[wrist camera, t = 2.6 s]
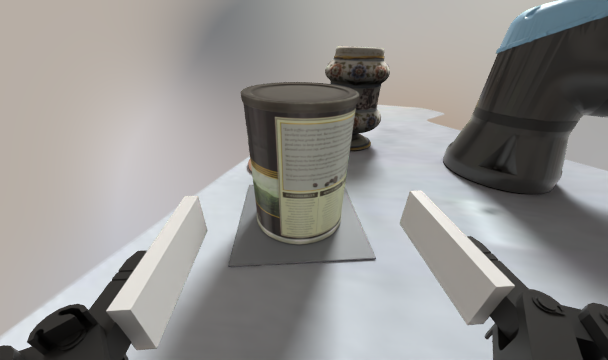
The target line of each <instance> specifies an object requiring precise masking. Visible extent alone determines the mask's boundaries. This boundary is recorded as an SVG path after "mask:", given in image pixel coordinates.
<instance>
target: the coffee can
mask: <svg viewBox="0 0 608 360" xmlns="http://www.w3.org/2000/svg"><path fill="white" fill-rule="evenodd" d="M241 98H242V101H243V103H244V110H245V119H246V126H247V135H248V144H249V151H250V159H251V167H252V176H253V184H254V192H255V200H256V208H257V221H258V224H259V226H260V228H261V229H262V230H263V231H264V232H265V233H266V234H267V235H268V236H270V237H272V238H273V239H276V240H278V241H281V242H284V243H290V244H309V243H314V242H317V241H321V240H323V239H325V238H326V237H328V236H330V235H331V234H332V233H333V232H335V230H336V229H337V228H338V226H339V224H340V222H341V211H342V203H343V196H344V189H345V182H346V175H347V168H348V161H349V153H350V146H351V139H352V131H353V124H354V117H355V109H356V104H357V103H358V100H359V93H358V92H357V91H356V90H354V89H351V88H348V87H344V86H340V85H333V84H323V83H306V82H288V83H287V82H284V83H270V84H261V85H255V86H251V87H247V88H245V89H243V90H242V91H241Z"/></svg>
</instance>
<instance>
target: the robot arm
mask: <svg viewBox="0 0 608 360" xmlns="http://www.w3.org/2000/svg"><path fill="white" fill-rule="evenodd" d="M496 53H497V57H496V60H495V62H494V64H493V67H492V69H491V72H490V74H489V76H488V79H487V81H486V84H485V86H484V88H483V91H482V93H481V95H480V98H479V100H478V102H477V105H476V108H475V110H474V112H473V115H472V117H471V119H470V121H469V122H468V123H467V124H466V126H465V127H464V128H463V130H462V131H461V132H460V134H459V135H458V136H457V138H456V139H455V141H454V142H452V143H451V144H450V145H449V146H448V147H447V149H446V152H445V155H444V157H443V162H444V163H445V165H446V166H447V167H448V168H449V169H451V170H452V171H453V172H455V173H457V174H459V175H460V176H462V177H464V178H467V179H469V180H471V181H474V182H476V183H479V184H482V185H485V186H489V187H492V188H496V189H500V190H504V191H510V192H516V193H525V194H540V193H546V192H549V191H551V190H552V189H553V188H554V186H555V185H556V183H557V182H558V180H559V179H560V178H561V175H562V167H563V163H564V158H565V153H566V148H567V141H568V137H569V135H570V133H571V132H572V130H573V129H574V127H575V126H576V124H577V123H578V121H579V120H580V118H581V117H582V116H583V115H591V116H598V117H599V116H600V117H608V0H557V1H554V2H550V3H546V4H543V5H540V6H536V7H534V8H531V9H529V10H527V11H525V12H523V13H522V14H520V15H519V16H518V17H516V19H515V20H514V21H513V22H512V23H511V25H510V27H509V29H508V31H507V33H506V35H505V38H504V40H503V42H502V44H501V46H500V48H499V49H498V50H497V52H496ZM400 225H401V227H402V228H403V230H404V231H405V233H406V234H407V236H408V237H409V239H410V240H411V242H412V243H413V244H414V246H415V247H416V249H417V250H418V252H419V253H420V255H421V256H422V258H423V259H424V261H425V262H426V264H427V265H428V267H429V268H430V270H431V271H432V273H433V274H434V276H435V277H436V279H437V280H438V282H439V283H440V285H441V286H442V288H443V289H444V291H445V292H446V294H447V295H448V297H449V298H450V300H451V301H452V303H453V304H454V306H455V307H456V309H457V310H458V312H459V313H460V315H461V316H462V318H463V319H464V321H465V322H466V324H467V325H475V324H484V322H485V321H486V320H487V319H488V318H489V316H490V317H491V318H492V320H493V321H494V322H495V324H494V325H493V326H492V327H491V329H490V330H489V331H488V332H487V333H486V335H485V338H486V339H489V337H490V336H491V335H493V341H492V342H493V360H608V307H607V306H604V305H602V304H596V303H591V304H588V305H587V306H586V307H584V308H583V309H582V310H580V309H576V308H572V307H567V306H563V305H560V304H559V303H558V302H557V301H556V300H554V299H553V298H552V297H550V296H548V295H546V294H544V293H542V292H540V291H537V290H533V289H529V288H527V287H526V286H525V285H524V284H523V283H522V282H521V281H520V280H519V279H518V278H517V277H516V276H515V275H514V274H513V273H512V272H511V271H510V270H509V269H508V268H507V267H506V266H505V265H504V264H503V263H502V262H501V261H498V259H497V258H496V257H495V256H494V255H493V254H491V252H490V251H489V250H488V249H487V248H486V247H485V246H484V245H483V244H482V243H481V242H479V241H477V240H476V239H474V238H473V237H471V236H466V235H465V234H464V233H463V232H462V231H461V230H460V229H459V228H458V227H457V226H456V225H455V224H454V223H453V222H452V221H451V220H450V219H449V218H448V217H447V216H446V215H445V214H444V213H443V212H442V211H441V210H440V209H439V208H438V207H437V206H436V205H435V204H434V203H433V202H432V201H431V200H430V199H429V198H428V197H427V196H426V195H425V194H424V193H423V192H422V191H410V193H409V196H408V199H407V202H406V205H405V208H404V211H403V214H402V218H401V221H400ZM206 233H207V227H206V223H205V219H204V216H203V212H202V208H201V205H200V201H199V197H198V196H185V197H184V198H183V200H182V201H181V203H180V204H179V205H178V207H177V208H176V210H175V211H174V213H173V214H172V216H171V217H170V219H169V220H168V222H167V223H166V224H165V226H164V227H163V229H162V230H161V232H160V233H159V235H158V236H157V238H156V239H155V240H154V242H153V243H152V245H151V246H150V248H149V249H148V251H137V252H136V253H135V254H134V255H132V256H131V257H130V258H129V259H127V260H126V262H125V263H124V264H123V265H122V267H121V268H120V269H119V272H118V273H116V275H115V276H114V277H113V279H112V281H111V282H110V283H109V284H108V285H107V287H106V288H105V289H104V291H103V292H102V293H101V295H100V296H99V297H98V299H97V300H96V301H95V303H94V304H93V305H92V307H91V308H90V309H89V310H88V309H87V308H86V307H85V306H84V305H80V304H74V305H68V306H66V307H63V308H61V309H58V310H57V311H55V312H53V313H52V314H50V315H49V316H47V317H46V318H45V319H43V320H42V321H41V322H40V323H39V324H38V325H37V326H36V327H35V328H34V330H33V331H32V332H31V333H30V335H29V338H28V341H27V343H29V344H30V345H31V346H32V347H29V348H27V349H24V350H21V351H17V350H16V349H14V348H13V347H12V346H4V345H3V346H0V360H128V357H127V356H126V352H127V350H128V348H129V346H130V344H132V345H133V346H134V348H135V349H136V350H145V349H157V347H158V345H159V343H160V340H161V338H162V336H163V333H164V331H165V329H166V326H167V324H168V322H169V319H170V317H171V315H172V312H173V310H174V308H175V305H176V303H177V301H178V298H179V296H180V294H181V291H182V289H183V287H184V284H185V282H186V280H187V277H188V275H189V273H190V270H191V268H192V266H193V263H194V261H195V259H196V256H197V254H198V252H199V249H200V247H201V245H202V242H203V240H204V238H205V235H206Z"/></svg>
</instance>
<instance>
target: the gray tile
mask: <svg viewBox="0 0 608 360" xmlns="http://www.w3.org/2000/svg"><path fill="white" fill-rule="evenodd" d="M363 259H376V257H375V255H374V252H373V250H372V248H371V246H370V243H369V241H368V239H367V237H366V234H365V232H364V230H363V227H362V225H361V223H360V221H359V218H358V216H357V214H356V211H355V209H354V207H353V205H352V202H351V200H350V198H349V195H348V193H347V191H346V189H344V196H343V203H342V211H341V222H340V224H339V226H338V228H337V229H336V230H335V232H333V233H332V234H331V235H330V236H328V237H326V238H325V239H323V240H321V241H317V242H314V243H309V244H290V243H284V242H281V241H278V240H276V239H273V238H272V237H270V236H268V235H267V234H266V233H265V232H264V231H263V230H262V229H261V228H260V226H259V224H258V221H257V208H256V200H255V192H254V185H249V188H248V191H247V195H246V199H245V203H244V207H243V211H242V215H241V218H240V222H239V226H238V230H237V234H236V238H235V242H234V245H233V249H232V253H231V257H230V261H229V265H228V267H233V266H252V265H271V264H289V263H308V262H326V261H345V260H363Z"/></svg>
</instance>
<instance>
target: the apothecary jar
mask: <svg viewBox="0 0 608 360" xmlns="http://www.w3.org/2000/svg"><path fill="white" fill-rule="evenodd" d="M325 73H326V76H327V77H328V78H329V79H330V80H331V84H333V85H340V86H344V87H348V88H351V89H354V90H356V91H357V92H358V93H359V100H358V103H357V104H356V109H355V117H354V124H353V131H352V139H351V146H350V151H355V150H363V149H366V148H368V147H369V146H370V145H371V142H370V140H369V139H368V138H366V137H364V136H362V135H361V134H358V133H364V132H367V131H370V130H372V129H374V128H375V127H377V126H378V125H379V123H380V121H381V114H380V112H379V111H378V109H377V102H378V97H379V91H380V87H381V83H383V82H384V81H385V80H386V79H387V78H388V77H389V74H390V69H389V66H388V64H387V63H386V62H385V61H384V48H372V47H346V46H342V47H341V46H337V48H336V54H335V56H334V59H333V60H332V61H330V62H329V64H328V65H327V66H326V69H325Z"/></svg>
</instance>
